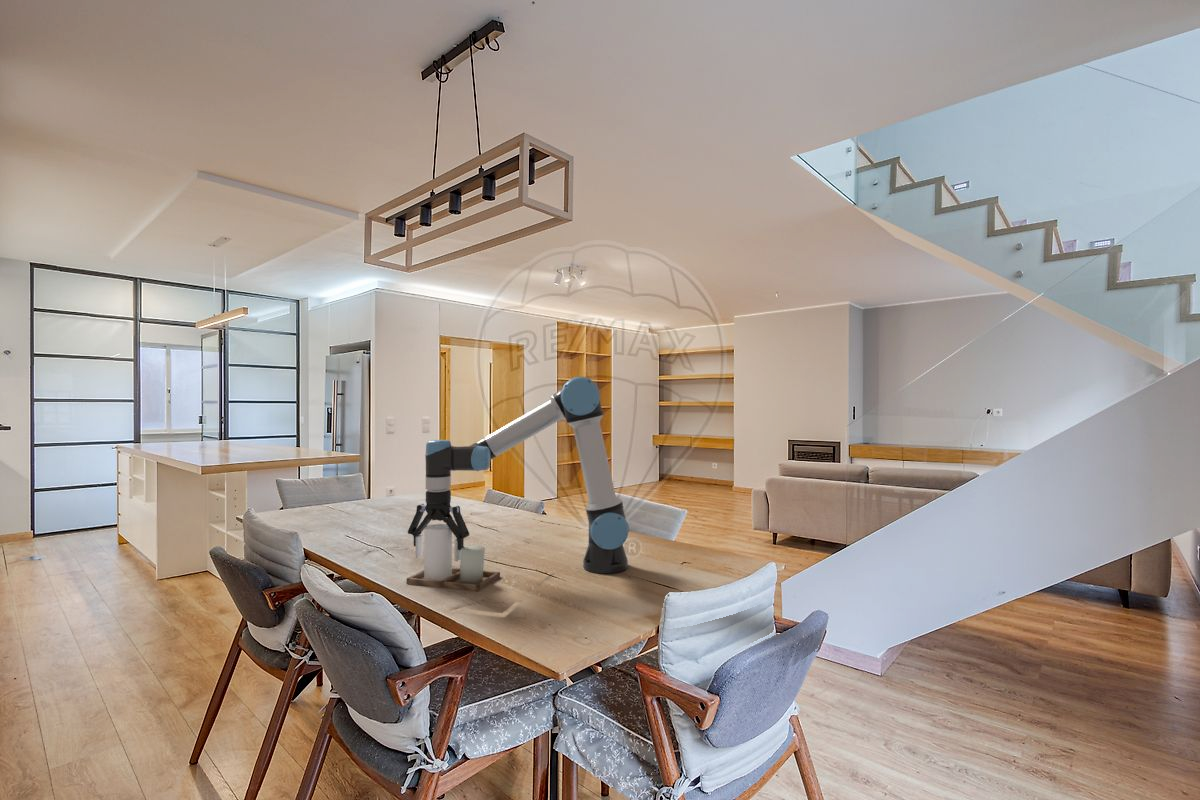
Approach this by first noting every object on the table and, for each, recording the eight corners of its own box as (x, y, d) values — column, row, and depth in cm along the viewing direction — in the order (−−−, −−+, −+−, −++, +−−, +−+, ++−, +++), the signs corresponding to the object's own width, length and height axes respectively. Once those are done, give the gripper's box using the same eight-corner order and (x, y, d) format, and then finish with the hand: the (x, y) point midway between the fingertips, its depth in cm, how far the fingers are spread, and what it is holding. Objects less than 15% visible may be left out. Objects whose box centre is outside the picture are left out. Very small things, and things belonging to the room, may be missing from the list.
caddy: (499, 580, 177) (500, 572, 177) (478, 594, 163) (478, 586, 163) (432, 573, 183) (432, 565, 183) (406, 586, 170) (406, 578, 170)
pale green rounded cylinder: (486, 579, 174) (488, 547, 174) (475, 586, 167) (477, 553, 167) (466, 576, 176) (468, 544, 176) (454, 583, 169) (456, 549, 169)
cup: (455, 574, 179) (456, 524, 179) (445, 583, 170) (446, 530, 170) (430, 573, 179) (431, 523, 179) (419, 582, 171) (420, 529, 171)
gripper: (480, 489, 175) (480, 558, 175) (410, 486, 182) (410, 552, 182) (468, 493, 168) (468, 564, 168) (396, 490, 175) (396, 558, 175)
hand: (438, 558), depth 175 cm, fingers open, 13 cm apart
